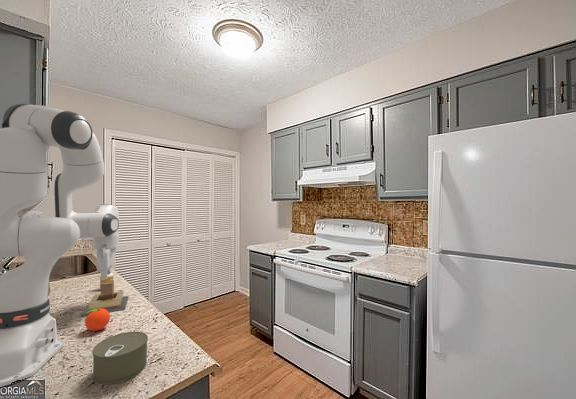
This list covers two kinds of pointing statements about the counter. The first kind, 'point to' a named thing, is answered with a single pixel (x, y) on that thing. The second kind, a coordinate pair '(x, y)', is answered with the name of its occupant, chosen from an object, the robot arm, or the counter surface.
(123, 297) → the collar
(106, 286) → the peg
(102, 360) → the can
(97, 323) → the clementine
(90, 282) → the counter surface
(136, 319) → the counter surface
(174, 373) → the counter surface
